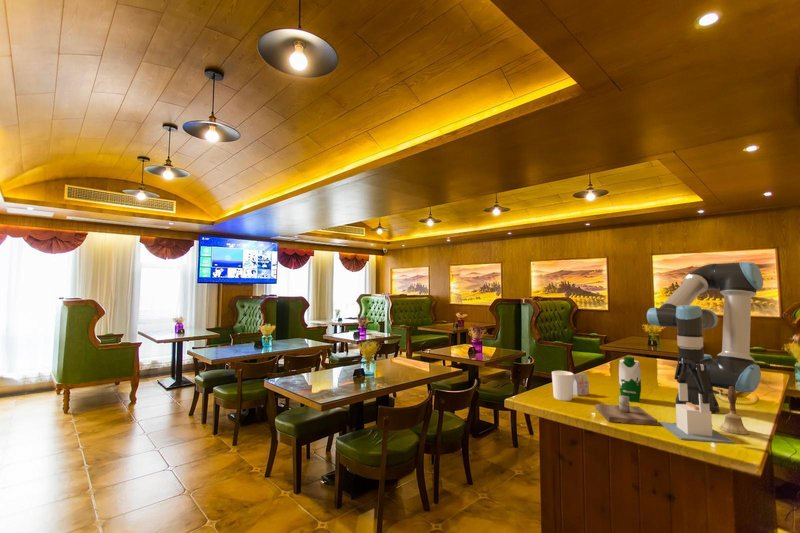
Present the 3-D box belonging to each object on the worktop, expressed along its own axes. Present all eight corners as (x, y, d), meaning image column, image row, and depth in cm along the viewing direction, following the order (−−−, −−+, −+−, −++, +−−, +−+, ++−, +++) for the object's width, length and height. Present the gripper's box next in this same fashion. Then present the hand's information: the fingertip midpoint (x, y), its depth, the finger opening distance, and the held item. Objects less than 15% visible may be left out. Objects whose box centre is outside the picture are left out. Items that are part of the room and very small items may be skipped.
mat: (706, 426, 142) (706, 425, 142) (734, 443, 126) (734, 441, 126) (659, 423, 145) (658, 421, 145) (680, 439, 129) (680, 437, 129)
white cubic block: (676, 426, 140) (675, 401, 141) (699, 428, 139) (698, 402, 139) (687, 434, 133) (686, 407, 133) (712, 436, 131) (711, 408, 132)
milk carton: (619, 400, 175) (618, 357, 177) (620, 395, 183) (618, 354, 184) (641, 403, 171) (640, 359, 172) (641, 398, 178) (640, 356, 180)
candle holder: (576, 402, 172) (576, 375, 173) (554, 400, 174) (553, 374, 175) (571, 396, 182) (571, 371, 183) (550, 394, 184) (549, 370, 185)
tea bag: (572, 394, 186) (571, 373, 187) (583, 393, 188) (583, 372, 188) (577, 396, 182) (576, 375, 183) (589, 395, 184) (588, 374, 185)
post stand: (638, 411, 160) (638, 392, 160) (657, 425, 143) (656, 404, 143) (595, 408, 163) (595, 389, 163) (609, 422, 146) (608, 401, 147)
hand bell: (713, 426, 142) (711, 384, 143) (733, 426, 143) (731, 383, 144) (734, 435, 134) (732, 389, 135) (756, 434, 134) (753, 389, 135)
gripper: (724, 353, 125) (727, 418, 123) (683, 342, 149) (686, 396, 148) (698, 353, 126) (701, 417, 125) (662, 342, 150) (665, 395, 149)
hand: (693, 406), depth 136 cm, fingers open, 13 cm apart
